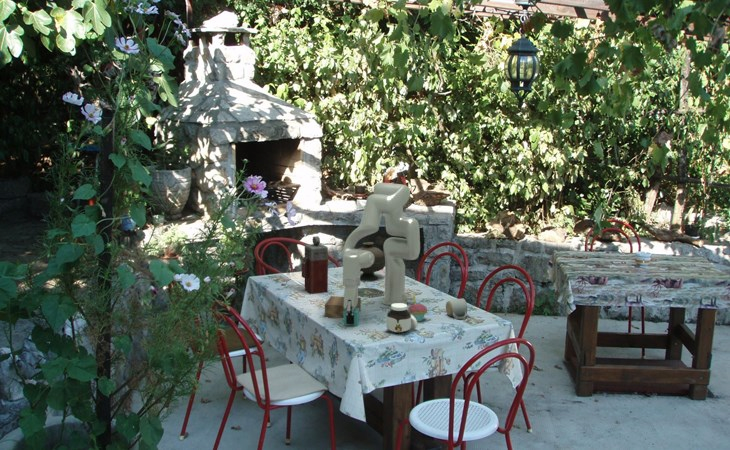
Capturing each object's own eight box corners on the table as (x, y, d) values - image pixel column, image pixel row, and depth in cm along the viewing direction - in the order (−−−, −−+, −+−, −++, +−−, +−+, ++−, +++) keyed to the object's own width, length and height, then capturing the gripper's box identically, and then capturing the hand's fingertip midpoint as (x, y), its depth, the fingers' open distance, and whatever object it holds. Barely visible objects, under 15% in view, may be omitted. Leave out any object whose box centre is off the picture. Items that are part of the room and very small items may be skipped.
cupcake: (413, 323, 341) (413, 296, 339) (404, 317, 348) (405, 292, 346) (430, 321, 344) (431, 295, 342) (421, 315, 352) (422, 290, 350)
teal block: (359, 321, 341) (359, 308, 340) (357, 325, 336) (357, 312, 334) (345, 320, 342) (345, 307, 341) (343, 324, 336) (343, 311, 335)
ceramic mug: (444, 313, 355) (445, 297, 354) (460, 312, 358) (461, 296, 356) (453, 321, 346) (454, 304, 344) (470, 319, 348) (471, 303, 346)
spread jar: (384, 332, 328) (384, 306, 326) (394, 325, 338) (394, 299, 336) (410, 336, 323) (411, 309, 321) (420, 329, 333) (420, 302, 331)
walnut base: (360, 310, 359) (360, 297, 358) (355, 319, 345) (355, 306, 344) (330, 308, 361) (330, 296, 360) (324, 317, 347) (324, 304, 346)
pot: (343, 278, 414) (346, 241, 412) (362, 274, 429) (365, 238, 426) (371, 284, 404) (374, 246, 402) (389, 280, 419) (393, 243, 416)
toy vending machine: (300, 290, 391) (300, 236, 386) (320, 287, 397) (320, 234, 391) (307, 294, 384) (307, 239, 378) (327, 292, 389) (328, 237, 384)
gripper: (346, 276, 344) (346, 315, 348) (339, 286, 327) (339, 327, 331) (363, 276, 343) (362, 316, 347) (357, 287, 326) (356, 328, 330)
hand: (351, 321), depth 339 cm, fingers closed on teal block, 6 cm apart
